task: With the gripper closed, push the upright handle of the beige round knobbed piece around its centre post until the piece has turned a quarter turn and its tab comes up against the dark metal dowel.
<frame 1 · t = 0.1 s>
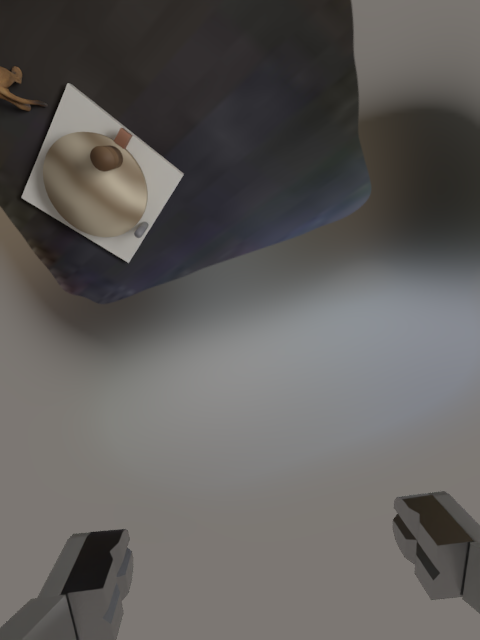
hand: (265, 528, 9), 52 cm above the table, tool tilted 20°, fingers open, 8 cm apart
post base: (105, 185, 50), on the table
beige round knobbed piece: (95, 184, 44), point 7 cm above the table, hinge at 0.0°
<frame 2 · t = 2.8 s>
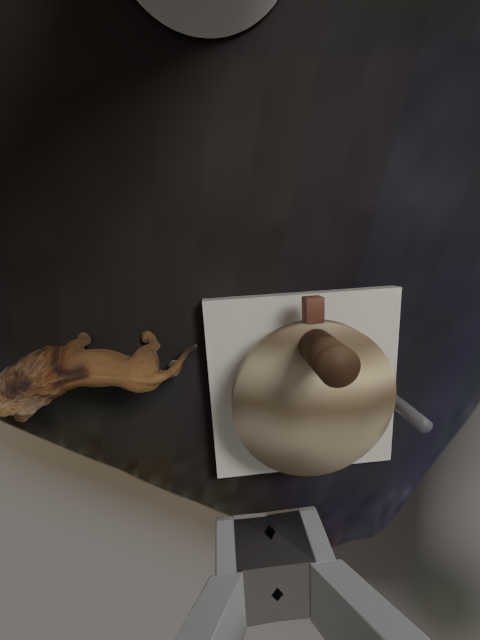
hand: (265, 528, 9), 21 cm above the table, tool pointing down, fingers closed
post base: (300, 381, 31), on the table
beige round knobbed piece: (322, 403, 24), point 7 cm above the table, hinge at 0.0°
lion figurine: (119, 355, 29), on the table
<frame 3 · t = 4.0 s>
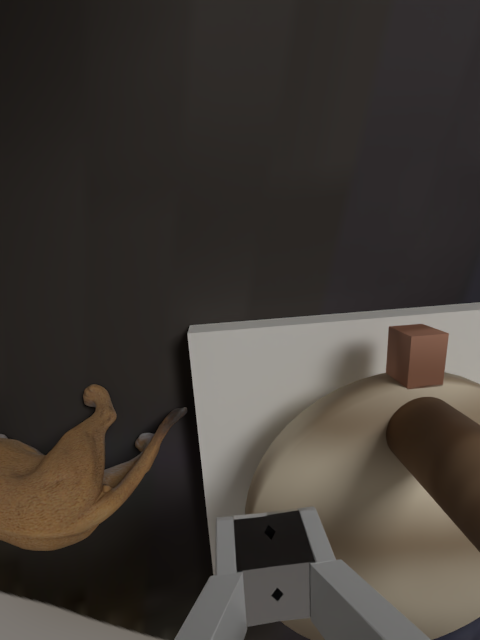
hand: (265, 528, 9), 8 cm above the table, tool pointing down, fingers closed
post base: (359, 461, 18), on the table
beige round knobbed piece: (440, 555, 12), point 7 cm above the table, hinge at 0.0°
lion figurine: (46, 425, 16), on the table
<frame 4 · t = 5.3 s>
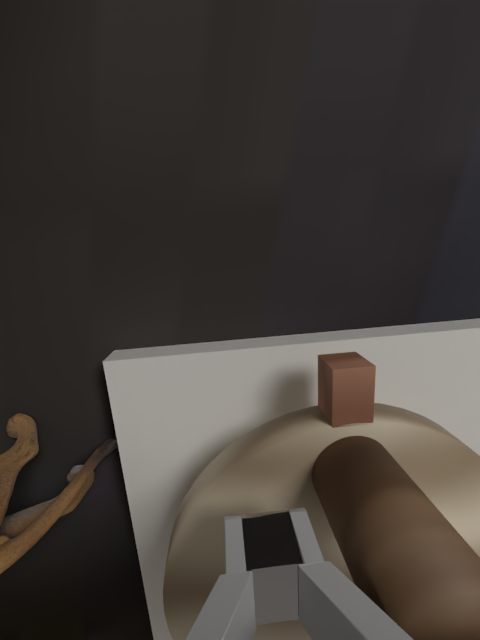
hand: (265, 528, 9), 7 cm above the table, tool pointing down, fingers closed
post base: (311, 493, 17), on the table
beige round knobbed piece: (371, 619, 10), point 7 cm above the table, hinge at 0.3°, touching gripper
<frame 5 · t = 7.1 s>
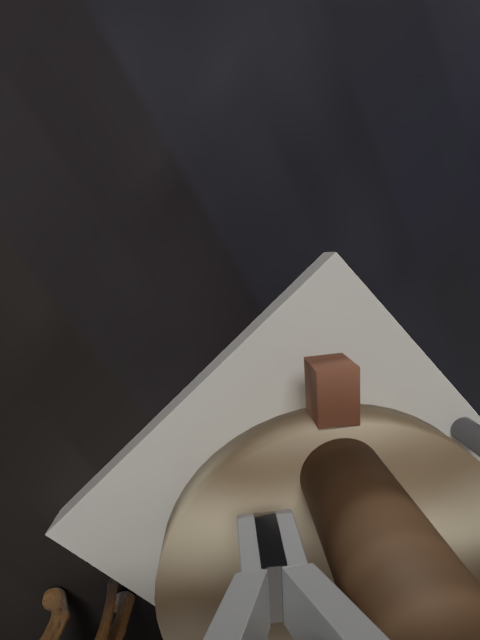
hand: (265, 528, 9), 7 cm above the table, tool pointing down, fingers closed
post base: (308, 496, 17), on the table
beige round knobbed piece: (363, 624, 10), point 7 cm above the table, hinge at 39.5°, touching gripper
lion figurine: (50, 634, 18), on the table
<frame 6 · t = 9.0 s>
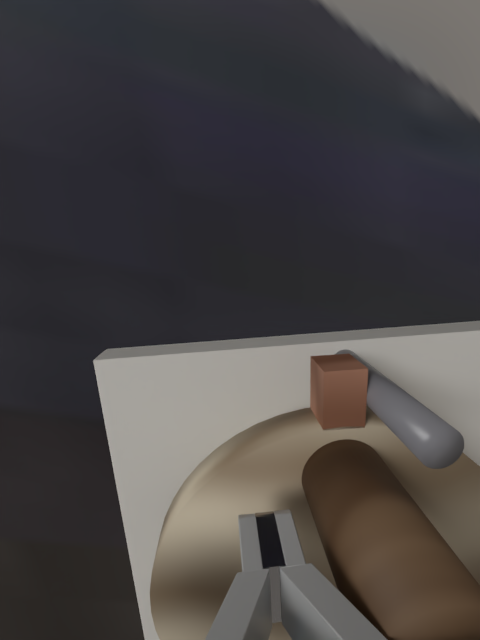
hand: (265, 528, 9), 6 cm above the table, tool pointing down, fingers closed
post base: (305, 495, 17), on the table
beige round knobbed piece: (359, 626, 10), point 7 cm above the table, hinge at 90.7°, touching gripper, post base
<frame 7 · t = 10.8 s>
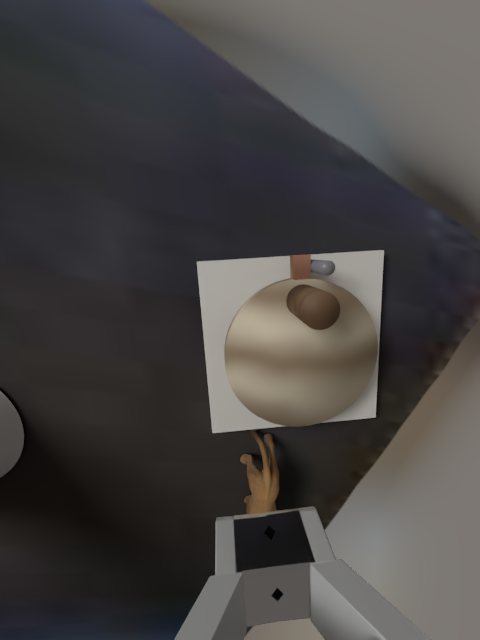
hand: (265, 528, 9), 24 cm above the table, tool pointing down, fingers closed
post base: (290, 342, 33), on the table
beige round knobbed piece: (307, 352, 26), point 7 cm above the table, hinge at 90.7°
lion figurine: (261, 475, 37), on the table
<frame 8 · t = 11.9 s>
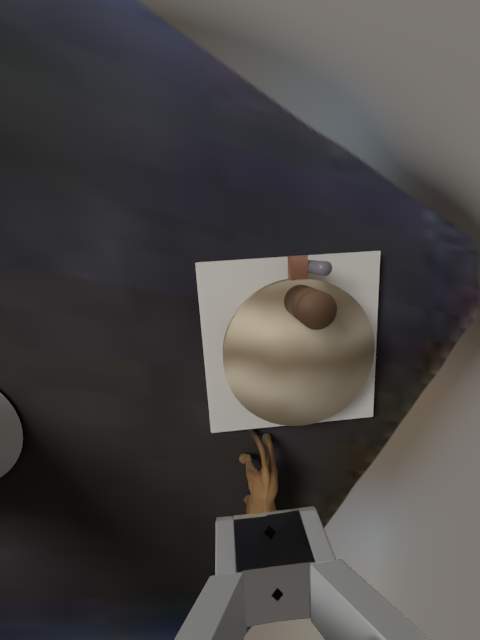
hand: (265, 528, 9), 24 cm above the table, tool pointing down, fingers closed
post base: (288, 342, 33), on the table
beige round knobbed piece: (305, 352, 27), point 7 cm above the table, hinge at 90.7°
lion figurine: (260, 474, 37), on the table, touching post base
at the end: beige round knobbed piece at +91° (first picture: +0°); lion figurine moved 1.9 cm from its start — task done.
